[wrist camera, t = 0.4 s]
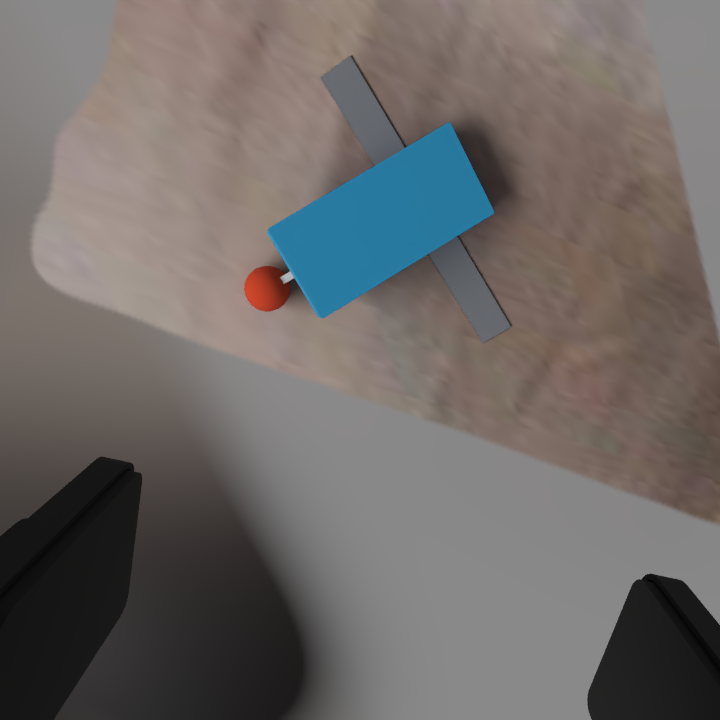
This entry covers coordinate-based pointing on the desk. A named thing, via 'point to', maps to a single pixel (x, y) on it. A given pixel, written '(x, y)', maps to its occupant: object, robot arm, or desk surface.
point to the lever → (373, 226)
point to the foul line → (382, 145)
